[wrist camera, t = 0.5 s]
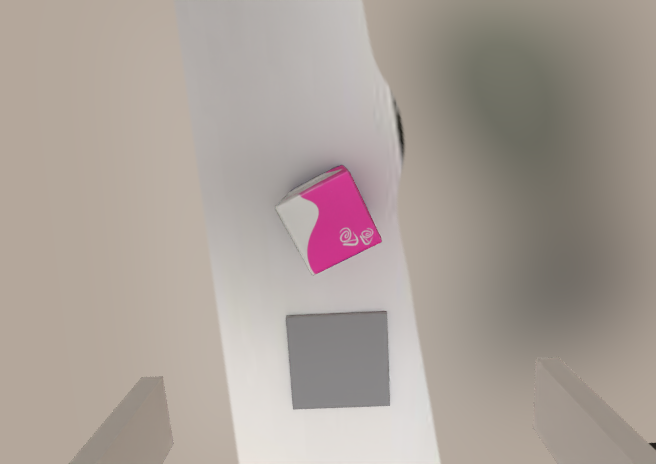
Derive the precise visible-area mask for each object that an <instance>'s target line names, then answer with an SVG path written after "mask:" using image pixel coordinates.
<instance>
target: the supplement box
mask: <svg viewBox="0 0 656 464" xmlns="http://www.w3.org/2000/svg"><path fill="white" fill-rule="evenodd" d="M275 209H276V211H277V213H278V215H279V217H280V219H281V220H282V222H283V224H284V226H285V228H286V230H287V231H288V233H289V235H290V237H291V238H292V240H293V242H294V244H295V246H296V248H297V249H298V251H299V253H300V255H301V256H302V258H303V260H304V262H305V264H306V265H307V267H308V269H309V271H310V273H311V275H315V274H317V273H319V272H321V271H323V270H325V269H328V268H330V267H332V266H334V265H336V264H338V263H340V262H342V261H344V260H346V259H348V258H350V257H352V256H354V255H356V254H358V253H360V252H362V251H364V250H366V249H368V248H370V247H372V246H374V245H376V244H379V243H381V242H382V239H381V237H380V235H379V233H378V230H377V228H376V226H375V224H374V222H373V220H372V218H371V216H370V214H369V211H368V209H367V207H366V205H365V203H364V201H363V199H362V197H361V195H360V192H359V190H358V188H357V186H356V184H355V182H354V180H353V178H352V176H351V174H350V172H349V171H348V170H347V169H346V168H345V167H344V166H343V165H340V166H338V167H335V168H333V169H331V170H329V171H327V172H325V173H323V174H321V175H319V176H317V177H315V178H313V179H311V180H309V181H307V182H305V183H304V184H302V185H300V186H298V187H296V188H294V189H293V190H291V191H290V192H289V194H288V195H287V196H286V197H285V198H284V199H282V200H281V202H280V203H279V204H278V205H277V206H275Z"/></svg>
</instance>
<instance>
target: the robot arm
mask: <svg viewBox="0 0 656 464" xmlns="http://www.w3.org/2000/svg"><path fill="white" fill-rule="evenodd" d="M534 396H535V397H534V420H533V421H534V422H533V429H534V430H535V432H536V433H537V435H538V436H539V438H540V439H541V440H542V442H543V443H544V445H545V446H546V448H547V449H548V451H549V452H550V453H551V455H552V456H553V458H554V459H555V461H556V462H557V464H656V443H647V441H645V440H644V439H643V438H642V437H641V436H640V435H639V434H638V433H637V432H636V431H635V430H634V429H633V428H632V427H631V426H630V425H629V424H628V423H627V422H626V421H624V419H623V418H621V417H620V416H619V415H618V414H617V413H616V412H615V411H614V410H613V409H612V408H611V407H610V406H609V405H608V404H607V403H606V402H605V401H604V400H603V399H602V398H601V397H600V396H599V395H597V394H596V393H595V392H594V391H593V390H592V389H591V388H590V387H589V386H588V385H587V384H586V383H585V382H584V381H582V379H581V378H579V376H578V375H577V374H576V373H574V372H573V371H572V370H571V369H570V368H569V367H568V366H567V365H566V364H565V363H564V362H563V361H562V360H561V359H560V358H559V357H551V358H536V370H535V393H534ZM173 444H174V443H173V437H172V430H171V425H170V418H169V412H168V406H167V400H166V394H165V387H164V381H163V377H162V376H159V377H142V378H141V379H140V380H139V381H138V382H137V383H136V385H135V386H134V387H133V388H132V390H131V391H130V392H129V393H128V394H127V395H126V396H125V398H124V399H123V400H122V401H121V402H120V404H119V405H118V406H117V407H116V408H115V409H114V411H113V412H112V413H111V414H110V416H109V417H108V418H107V419H106V420H105V421H104V423H103V424H102V425H101V426H100V427H99V428H98V430H97V431H96V432H95V433H94V435H93V436H92V437H91V438H90V439H89V440H88V442H87V443H86V444H85V445H84V446H83V448H82V449H81V450H80V451H79V452H78V453H77V455H76V456H75V457H74V458H73V459H72V460H71V462H70V463H69V464H163V462H164V460H165V459H166V457H167V455H168V453H169V451H170V449H171V448H172V446H173Z"/></svg>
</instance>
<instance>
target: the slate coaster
mask: <svg viewBox="0 0 656 464" xmlns="http://www.w3.org/2000/svg"><path fill="white" fill-rule="evenodd" d="M286 325H287V337H288V350H289V363H290V376H291V388H292V401H293V409H316V408H343V407H369V406H390V393H389V362H388V332H387V312H386V311H382V312H360V313H338V314H316V315H294V316H287V317H286Z"/></svg>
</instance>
